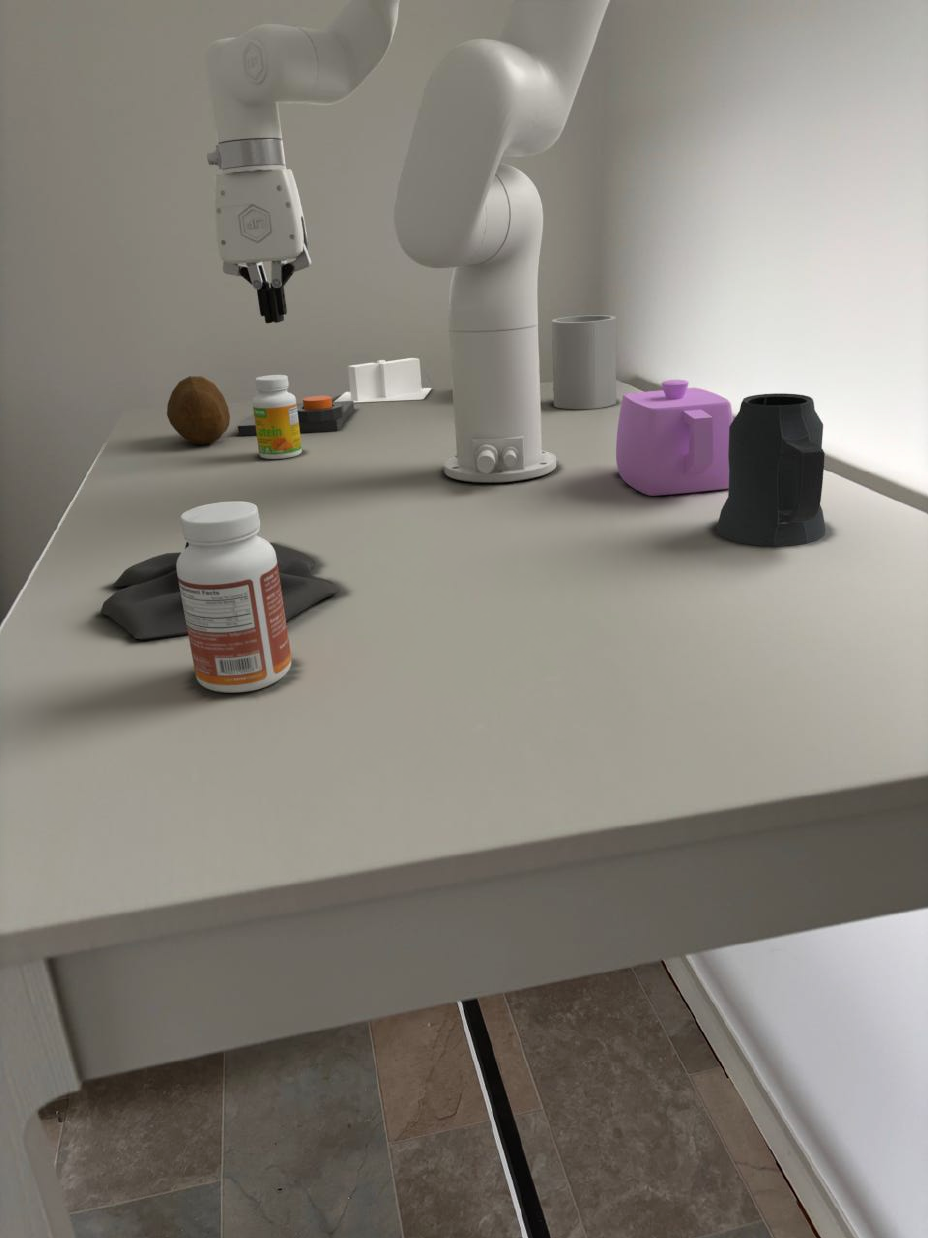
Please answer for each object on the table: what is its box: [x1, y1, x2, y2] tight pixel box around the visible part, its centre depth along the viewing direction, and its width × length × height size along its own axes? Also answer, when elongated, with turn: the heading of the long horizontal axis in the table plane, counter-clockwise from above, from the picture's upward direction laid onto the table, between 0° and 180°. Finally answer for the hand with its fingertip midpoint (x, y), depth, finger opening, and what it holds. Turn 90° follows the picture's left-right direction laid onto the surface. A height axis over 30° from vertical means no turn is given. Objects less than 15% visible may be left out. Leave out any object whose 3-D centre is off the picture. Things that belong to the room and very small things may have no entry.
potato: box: [166, 375, 231, 445], centre depth 139 cm, size 8×12×9 cm
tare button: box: [302, 395, 333, 410], centre depth 144 cm, size 4×4×2 cm
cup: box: [550, 314, 617, 410], centre depth 148 cm, size 9×9×12 cm
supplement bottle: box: [252, 374, 303, 460], centre depth 128 cm, size 5×5×10 cm
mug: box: [715, 392, 826, 547], centre depth 85 cm, size 12×9×11 cm
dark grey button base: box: [237, 401, 355, 437], centre depth 149 cm, size 16×14×3 cm
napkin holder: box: [333, 357, 433, 403], centre depth 167 cm, size 15×11×6 cm
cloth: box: [100, 541, 340, 641], centre depth 81 cm, size 22×19×6 cm
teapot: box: [615, 379, 734, 497], centre depth 104 cm, size 18×10×10 cm, turn 8°
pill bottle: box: [176, 500, 292, 694], centre depth 64 cm, size 6×6×11 cm
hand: (274, 321), depth 126 cm, fingers closed
